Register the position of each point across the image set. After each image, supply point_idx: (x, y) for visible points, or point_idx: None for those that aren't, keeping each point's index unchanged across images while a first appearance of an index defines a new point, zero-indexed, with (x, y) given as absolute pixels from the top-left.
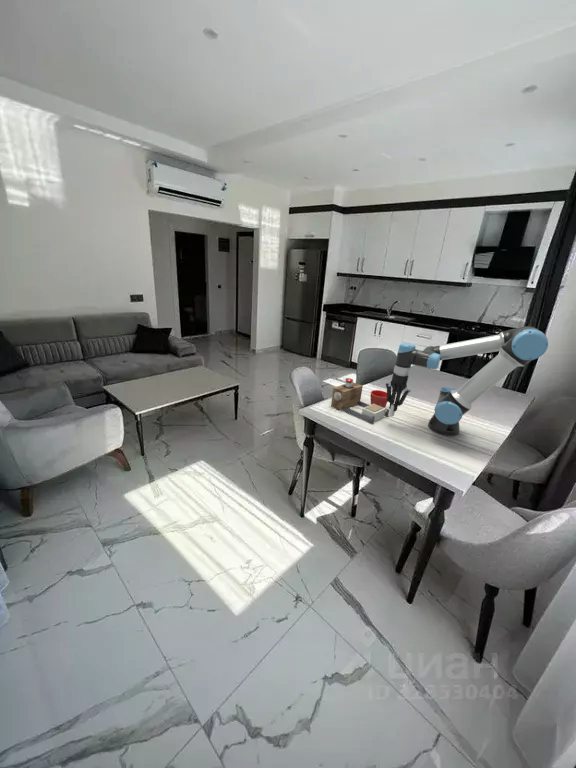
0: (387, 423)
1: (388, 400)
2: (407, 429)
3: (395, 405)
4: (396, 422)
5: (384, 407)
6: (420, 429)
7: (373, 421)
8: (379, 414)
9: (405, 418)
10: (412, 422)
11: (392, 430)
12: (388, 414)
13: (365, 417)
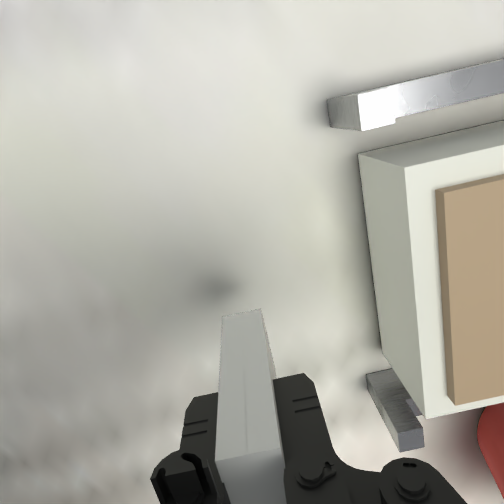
0: (268, 282)
1: (402, 495)
2: (96, 369)
3: (155, 477)
4: None
5: (490, 465)
6: (61, 467)
7: (337, 109)
8: (394, 275)
9: None
10: None
11: (127, 214)
12: (376, 405)
13: (459, 70)
